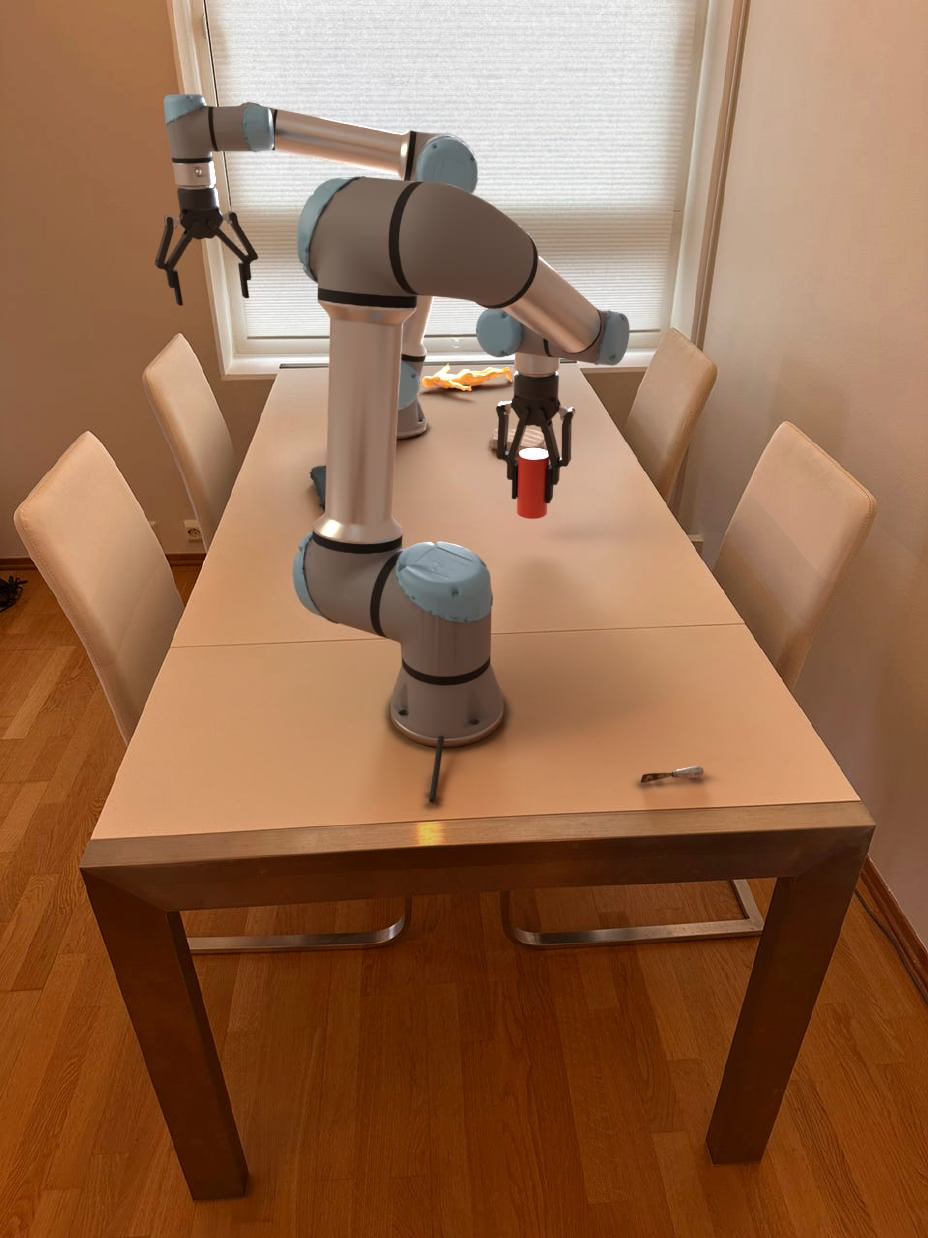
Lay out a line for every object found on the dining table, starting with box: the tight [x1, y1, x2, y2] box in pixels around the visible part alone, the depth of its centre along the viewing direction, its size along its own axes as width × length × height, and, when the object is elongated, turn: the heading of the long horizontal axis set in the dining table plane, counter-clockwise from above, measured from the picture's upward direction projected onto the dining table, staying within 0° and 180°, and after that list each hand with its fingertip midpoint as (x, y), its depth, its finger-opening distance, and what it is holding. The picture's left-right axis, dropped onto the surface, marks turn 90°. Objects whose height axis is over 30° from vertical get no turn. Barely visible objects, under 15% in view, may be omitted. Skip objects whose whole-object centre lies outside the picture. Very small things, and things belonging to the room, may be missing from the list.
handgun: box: [309, 465, 326, 512], centre depth 182 cm, size 3×18×12 cm
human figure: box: [421, 362, 513, 392], centre depth 242 cm, size 20×20×4 cm
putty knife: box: [640, 765, 705, 784], centre depth 109 cm, size 1×8×2 cm, turn 103°
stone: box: [490, 428, 545, 453], centre depth 203 cm, size 13×12×3 cm
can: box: [516, 448, 550, 520], centre depth 160 cm, size 6×6×11 cm
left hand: (213, 300), depth 184 cm, fingers open, 13 cm apart
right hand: (532, 497), depth 162 cm, fingers closed on can, 5 cm apart
